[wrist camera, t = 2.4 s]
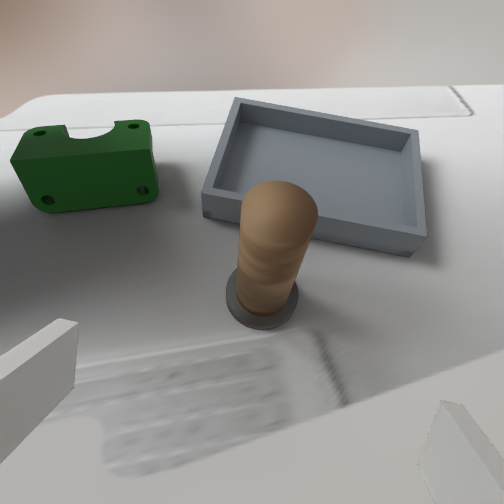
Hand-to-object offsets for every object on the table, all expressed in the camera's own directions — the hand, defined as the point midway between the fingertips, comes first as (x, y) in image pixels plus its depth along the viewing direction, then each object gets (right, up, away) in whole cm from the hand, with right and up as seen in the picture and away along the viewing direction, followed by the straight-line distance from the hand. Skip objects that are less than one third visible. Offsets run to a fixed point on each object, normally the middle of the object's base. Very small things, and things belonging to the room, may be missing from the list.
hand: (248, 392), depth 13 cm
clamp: (-15, +12, +23) cm, 30 cm away
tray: (+7, +12, +25) cm, 29 cm away
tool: (+1, +1, +18) cm, 18 cm away
